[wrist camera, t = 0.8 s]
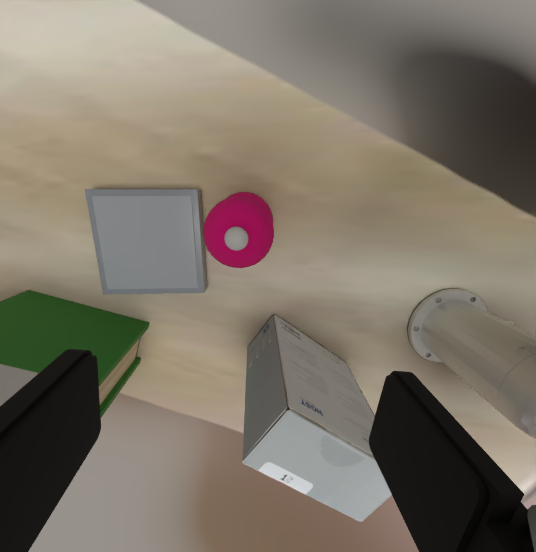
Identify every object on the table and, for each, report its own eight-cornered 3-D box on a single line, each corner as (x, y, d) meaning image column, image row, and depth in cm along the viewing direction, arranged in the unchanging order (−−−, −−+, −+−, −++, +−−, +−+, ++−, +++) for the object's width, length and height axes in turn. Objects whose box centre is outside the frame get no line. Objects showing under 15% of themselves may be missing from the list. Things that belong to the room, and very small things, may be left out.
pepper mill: (278, 203, 39) (300, 209, 19) (261, 251, 40) (266, 300, 21) (229, 184, 38) (200, 171, 18) (213, 234, 39) (172, 270, 20)
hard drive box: (245, 348, 45) (237, 461, 25) (273, 312, 43) (287, 404, 24) (319, 393, 48) (361, 526, 28) (348, 362, 46) (413, 479, 27)
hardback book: (149, 322, 43) (23, 469, 20) (139, 362, 44) (14, 540, 21) (29, 290, 40) (-272, 412, 17) (24, 333, 42) (-255, 496, 19)
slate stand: (201, 189, 38) (196, 189, 35) (207, 287, 41) (204, 293, 39) (96, 189, 37) (84, 189, 34) (112, 288, 41) (102, 294, 38)
